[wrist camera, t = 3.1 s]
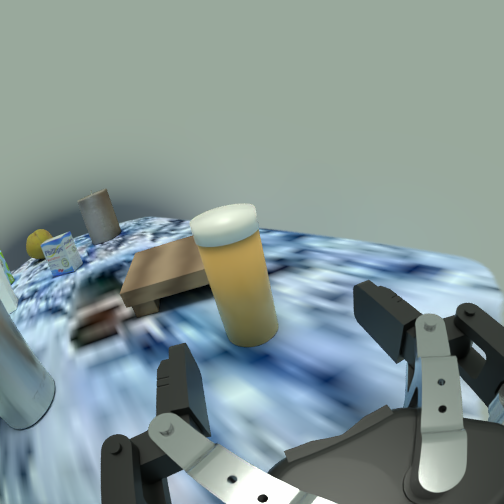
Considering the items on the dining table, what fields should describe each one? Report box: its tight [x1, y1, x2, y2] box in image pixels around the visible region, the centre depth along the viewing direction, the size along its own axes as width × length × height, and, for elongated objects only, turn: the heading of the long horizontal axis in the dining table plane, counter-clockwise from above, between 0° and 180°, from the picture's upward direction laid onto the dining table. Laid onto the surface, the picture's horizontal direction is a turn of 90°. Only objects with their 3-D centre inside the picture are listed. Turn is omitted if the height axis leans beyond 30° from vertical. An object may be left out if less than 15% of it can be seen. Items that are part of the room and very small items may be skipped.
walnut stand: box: [120, 236, 209, 317], centre depth 37 cm, size 17×13×4 cm
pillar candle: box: [77, 189, 121, 245], centre depth 69 cm, size 10×10×15 cm
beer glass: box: [190, 204, 278, 347], centre depth 23 cm, size 5×5×12 cm
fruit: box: [26, 229, 53, 259], centre depth 71 cm, size 11×12×10 cm
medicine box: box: [41, 232, 83, 277], centre depth 52 cm, size 8×4×9 cm, turn 93°
